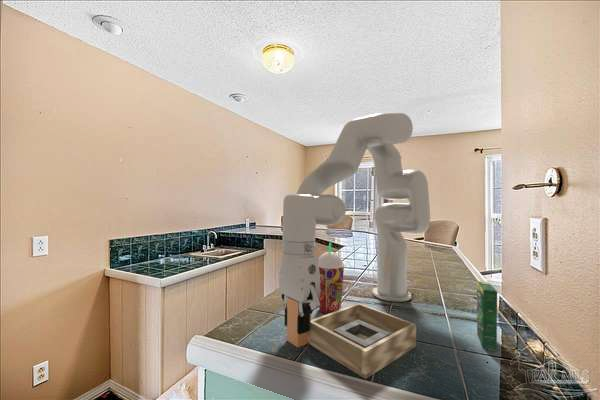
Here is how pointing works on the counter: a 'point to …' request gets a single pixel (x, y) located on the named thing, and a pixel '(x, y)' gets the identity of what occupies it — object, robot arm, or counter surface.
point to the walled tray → (362, 338)
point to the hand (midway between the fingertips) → (296, 327)
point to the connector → (294, 324)
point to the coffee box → (487, 315)
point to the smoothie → (330, 281)
